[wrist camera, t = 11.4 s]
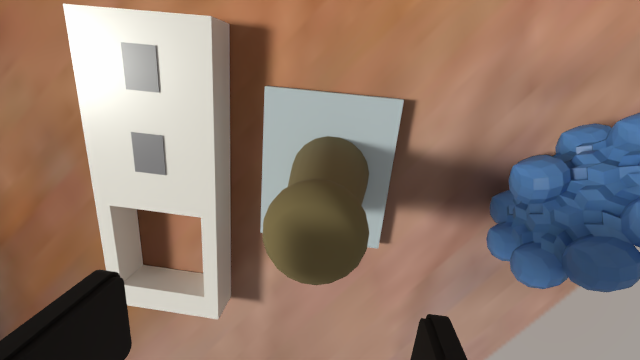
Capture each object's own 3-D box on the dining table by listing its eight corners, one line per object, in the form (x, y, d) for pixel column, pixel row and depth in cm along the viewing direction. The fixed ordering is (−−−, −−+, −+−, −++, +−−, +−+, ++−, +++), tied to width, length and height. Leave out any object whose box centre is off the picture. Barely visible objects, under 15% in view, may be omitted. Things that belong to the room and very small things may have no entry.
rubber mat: (377, 242, 26) (378, 248, 25) (263, 227, 27) (260, 232, 26) (401, 99, 22) (404, 100, 22) (268, 85, 23) (264, 86, 22)
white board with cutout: (231, 296, 30) (217, 320, 27) (133, 281, 31) (110, 303, 28) (229, 24, 22) (210, 16, 19) (99, 12, 23) (61, 3, 20)
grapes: (529, 70, 21) (732, 63, 10) (609, 119, 22) (893, 166, 10) (429, 205, 25) (491, 311, 14) (499, 244, 25) (616, 379, 14)
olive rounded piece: (368, 134, 23) (379, 182, 12) (370, 209, 24) (381, 307, 14) (287, 138, 23) (234, 187, 13) (295, 211, 25) (254, 305, 15)
